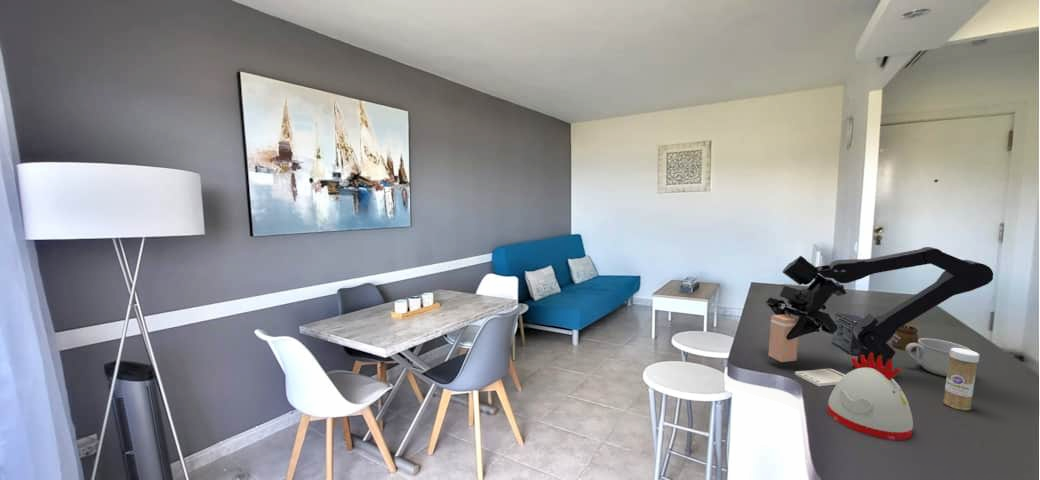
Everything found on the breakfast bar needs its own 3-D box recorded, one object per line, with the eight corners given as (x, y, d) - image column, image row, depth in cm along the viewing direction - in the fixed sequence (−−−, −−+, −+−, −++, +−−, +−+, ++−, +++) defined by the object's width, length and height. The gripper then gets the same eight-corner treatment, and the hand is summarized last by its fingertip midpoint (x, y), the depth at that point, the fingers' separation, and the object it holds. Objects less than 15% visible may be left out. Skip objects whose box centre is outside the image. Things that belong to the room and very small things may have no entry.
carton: (782, 354, 118) (786, 314, 116) (796, 360, 113) (800, 319, 112) (768, 355, 117) (771, 315, 115) (781, 362, 112) (784, 320, 111)
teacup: (956, 368, 116) (960, 341, 115) (979, 384, 106) (983, 355, 105) (893, 359, 122) (896, 333, 121) (909, 373, 112) (913, 345, 111)
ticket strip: (830, 371, 112) (831, 368, 112) (856, 382, 105) (856, 379, 105) (794, 374, 110) (795, 371, 110) (818, 386, 103) (819, 383, 103)
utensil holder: (913, 347, 132) (918, 311, 131) (919, 353, 127) (924, 316, 126) (889, 343, 136) (894, 308, 134) (894, 348, 130) (898, 312, 129)
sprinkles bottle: (942, 405, 94) (950, 350, 93) (942, 399, 97) (950, 345, 96) (971, 413, 91) (980, 356, 90) (971, 406, 94) (979, 351, 93)
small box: (874, 357, 123) (878, 323, 122) (849, 355, 124) (853, 322, 123) (853, 344, 133) (856, 314, 132) (830, 343, 135) (834, 312, 134)
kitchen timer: (888, 446, 78) (898, 372, 77) (813, 411, 91) (820, 347, 89) (925, 431, 84) (935, 361, 82) (850, 400, 96) (857, 339, 95)
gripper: (773, 270, 122) (739, 308, 121) (832, 284, 104) (793, 328, 103) (792, 295, 125) (759, 332, 124) (854, 312, 107) (816, 355, 106)
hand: (779, 335), depth 114 cm, fingers closed on carton, 4 cm apart
